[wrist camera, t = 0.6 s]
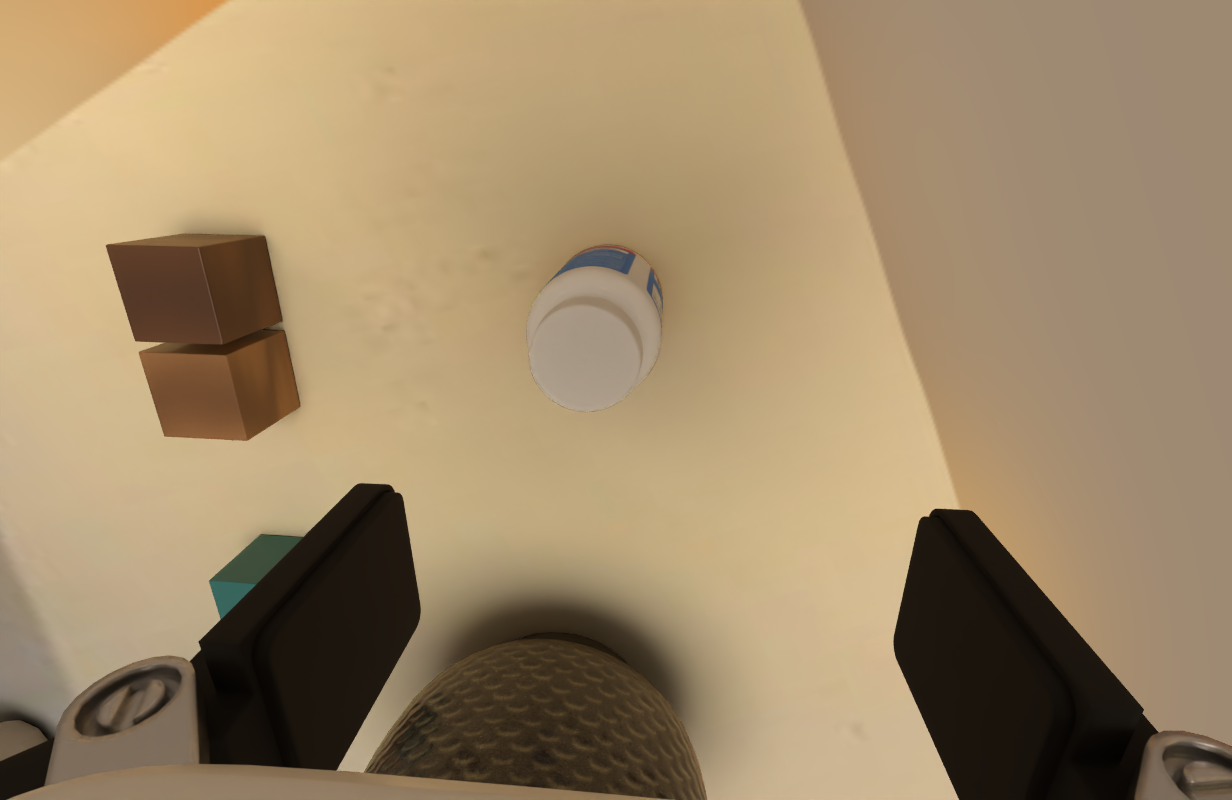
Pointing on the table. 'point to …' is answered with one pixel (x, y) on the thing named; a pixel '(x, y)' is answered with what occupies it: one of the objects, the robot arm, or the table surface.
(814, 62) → the table surface
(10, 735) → the white pillar candle
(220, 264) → the block
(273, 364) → the block
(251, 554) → the block
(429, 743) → the planter
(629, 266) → the pill bottle
